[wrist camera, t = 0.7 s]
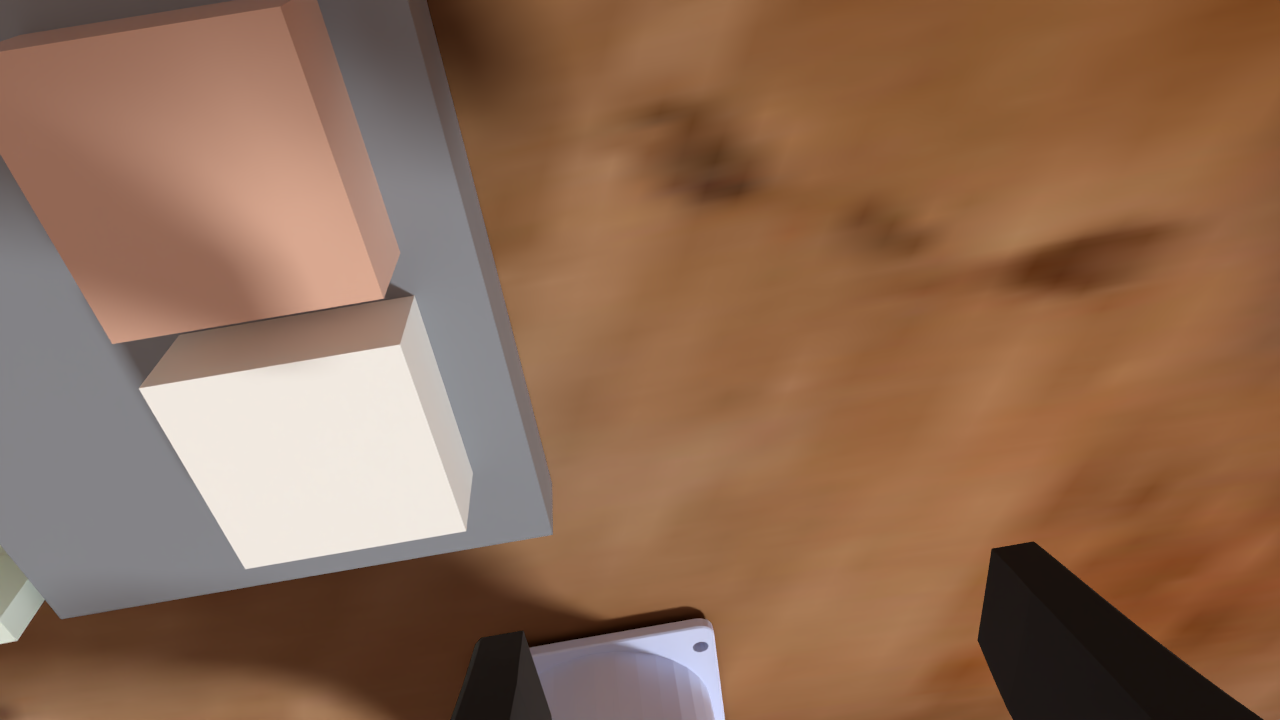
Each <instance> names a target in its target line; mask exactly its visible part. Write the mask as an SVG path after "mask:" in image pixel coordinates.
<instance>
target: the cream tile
mask: <svg viewBox="0 0 1280 720" xmlns="http://www.w3.org/2000/svg"><path fill="white" fill-rule="evenodd" d="M139 390H140V392H141V393H142V395H143V397H144V399H145V400H146V402H147V404H148V405H149V407H150V409H151V410H152V412H153V414H154V415H155V417H156V419H157V421H158V422H159V424H160V426H161V427H162V429H163V431H164V432H165V434H166V436H167V438H168V439H169V441H170V443H171V444H172V446H173V448H174V449H175V451H176V453H177V454H178V456H179V458H180V460H181V461H182V463H183V465H184V466H185V468H186V470H187V471H188V473H189V475H190V476H191V478H192V480H193V482H194V483H195V485H196V487H197V488H198V490H199V492H200V493H201V495H202V497H203V499H204V500H205V502H206V504H207V505H208V507H209V509H210V510H211V512H212V514H213V515H214V517H215V519H216V521H217V522H218V524H219V526H220V527H221V529H222V531H223V532H224V534H225V536H226V537H227V539H228V541H229V543H230V544H231V546H232V548H233V549H234V551H235V553H236V554H237V556H238V558H239V559H240V561H241V563H242V565H243V566H244V568H245V569H250V568H255V567H261V566H267V565H273V564H279V563H284V562H290V561H296V560H302V559H308V558H314V557H319V556H325V555H331V554H337V553H343V552H349V551H354V550H360V549H366V548H372V547H378V546H383V545H389V544H395V543H401V542H407V541H413V540H418V539H424V538H430V537H436V536H442V535H448V534H453V533H459V532H465V531H466V529H467V520H468V512H469V503H470V494H471V485H472V477H473V472H472V469H471V466H470V463H469V460H468V457H467V454H466V450H465V447H464V444H463V441H462V438H461V435H460V432H459V429H458V426H457V423H456V420H455V417H454V414H453V411H452V408H451V405H450V402H449V399H448V396H447V393H446V390H445V387H444V384H443V381H442V378H441V375H440V372H439V369H438V365H437V362H436V359H435V356H434V353H433V350H432V347H431V344H430V341H429V338H428V335H427V332H426V329H425V326H424V323H423V320H422V317H421V314H420V311H419V308H418V305H417V302H416V299H415V296H408V297H402V298H396V299H390V300H384V301H378V302H373V303H367V304H361V305H355V306H349V307H343V308H337V309H331V310H325V311H319V312H313V313H307V314H301V315H295V316H289V317H283V318H277V319H271V320H265V321H259V322H253V323H247V324H241V325H235V326H229V327H223V328H217V329H211V330H205V331H199V332H193V333H187V334H181V335H179V336H178V337H177V339H176V340H175V341H174V343H173V344H172V345H171V346H170V348H169V349H168V350H167V352H166V353H165V354H164V356H163V357H162V358H161V360H160V361H159V362H158V364H157V365H156V366H155V367H154V369H153V370H152V371H151V373H150V374H149V375H148V377H147V378H146V379H145V381H144V382H143V383H142V385H141V386H140V387H139Z"/></svg>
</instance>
